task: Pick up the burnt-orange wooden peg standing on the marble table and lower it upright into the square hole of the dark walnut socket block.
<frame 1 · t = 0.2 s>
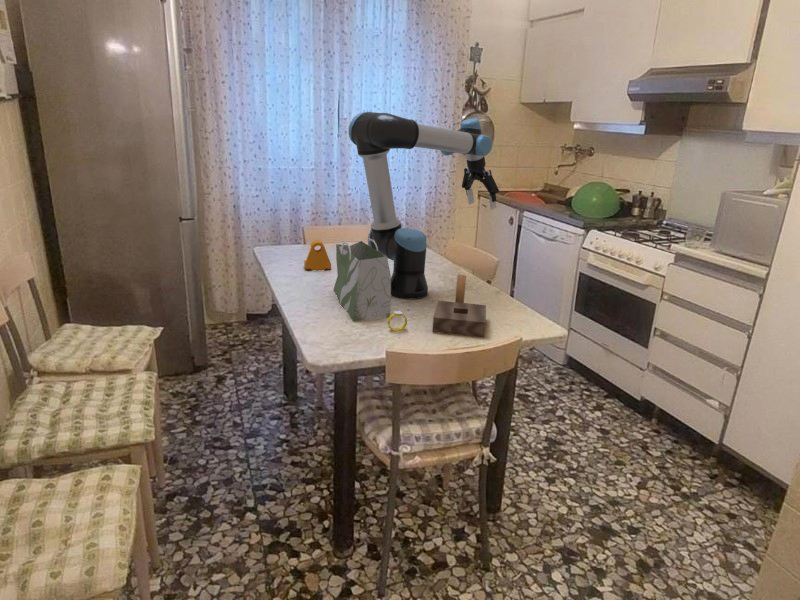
hand: (482, 205, 228), 28 cm above the table, tool tilted 20°, fingers open, 13 cm apart
yellow ring: (396, 330, 165), on the table
peg: (459, 308, 185), on the table
bracket: (317, 268, 225), on the table
socket block: (459, 325, 170), on the table
grocery bag: (358, 304, 186), on the table
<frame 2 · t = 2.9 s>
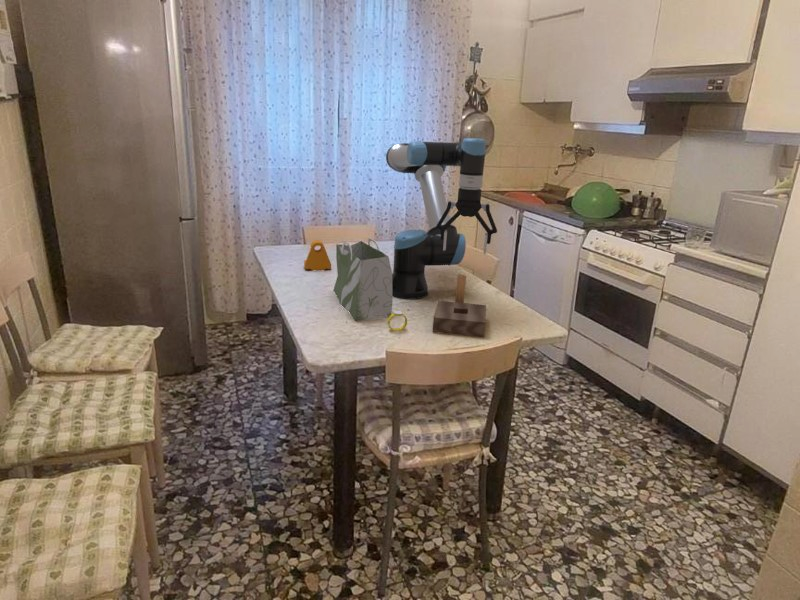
hand: (464, 251, 179), 21 cm above the table, tool pointing down, fingers open, 13 cm apart
nothing on the table moved.
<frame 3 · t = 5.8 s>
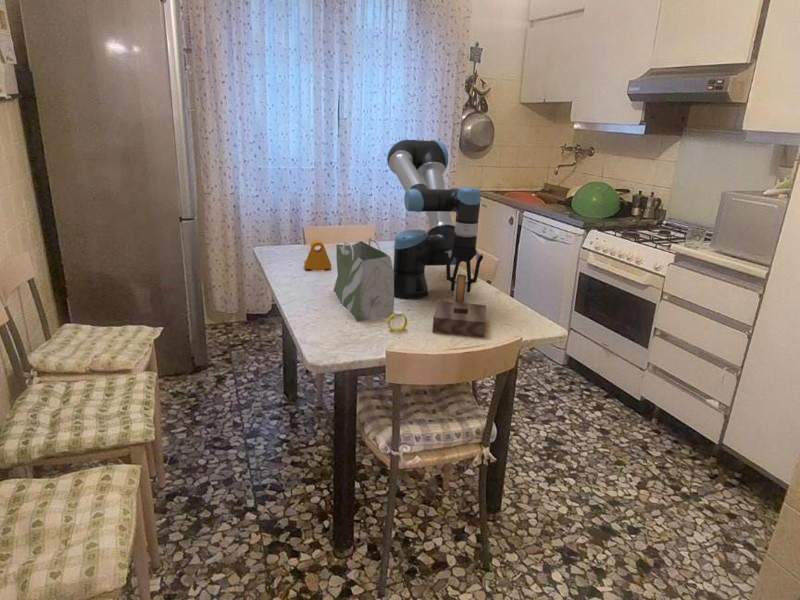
hand: (459, 300, 184), 3 cm above the table, tool pointing down, fingers closed on peg, 3 cm apart
peg: (458, 308, 185), on the table, touching gripper
everything else where it was.
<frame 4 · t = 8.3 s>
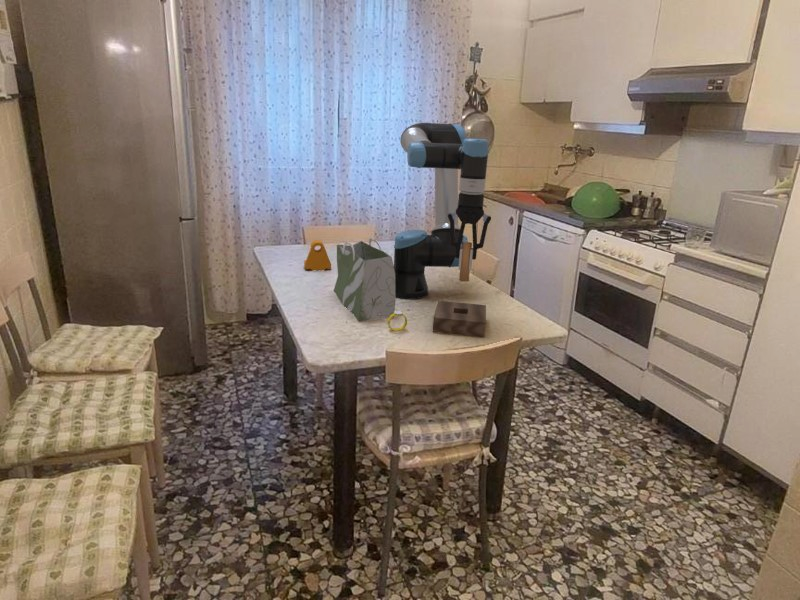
hand: (464, 268, 165), 19 cm above the table, tool pointing down, fingers closed on peg, 2 cm apart
peg: (464, 280, 166), point 15 cm above the table, touching gripper
everything else where it was.
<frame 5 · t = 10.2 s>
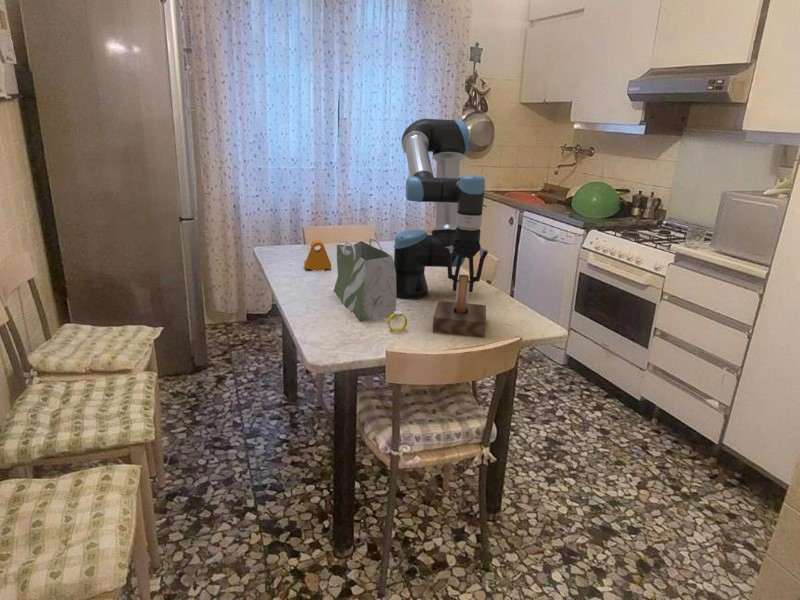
hand: (461, 300, 167), 9 cm above the table, tool pointing down, fingers closed on peg, 2 cm apart
peg: (460, 311, 169), point 5 cm above the table, touching gripper
when the fingers open (7 cm above the table, at t = 11.3 s): peg drops 3 cm, resting in socket block.
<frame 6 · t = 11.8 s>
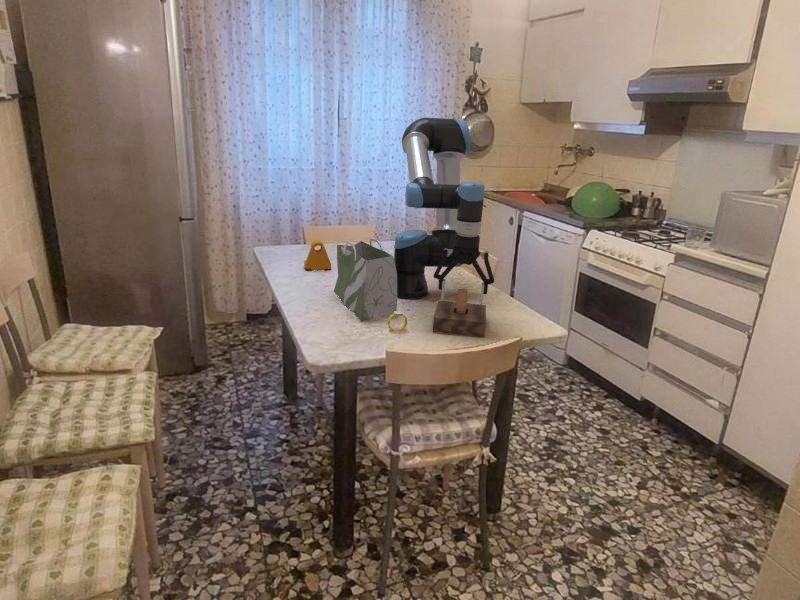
hand: (461, 301, 168), 8 cm above the table, tool pointing down, fingers open, 11 cm apart
peg: (459, 325, 170), resting in socket block
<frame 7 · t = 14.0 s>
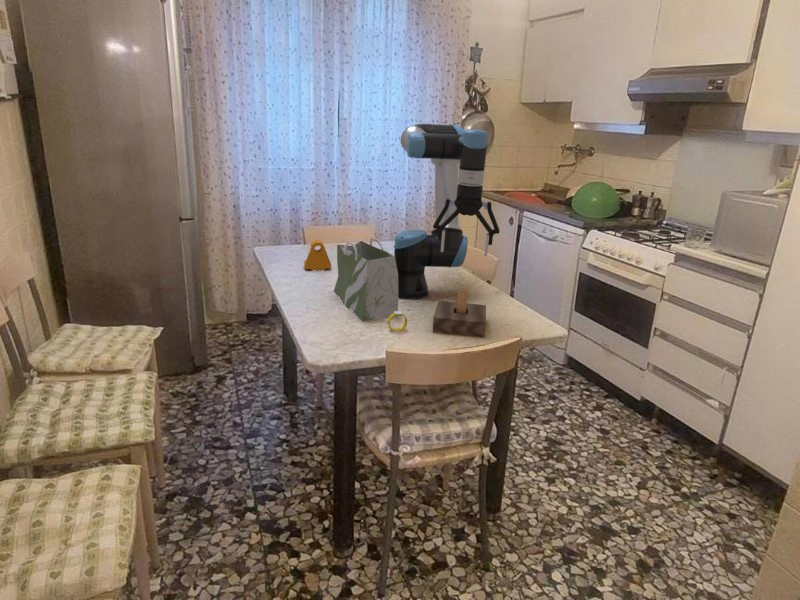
hand: (463, 252, 165), 23 cm above the table, tool pointing down, fingers open, 13 cm apart
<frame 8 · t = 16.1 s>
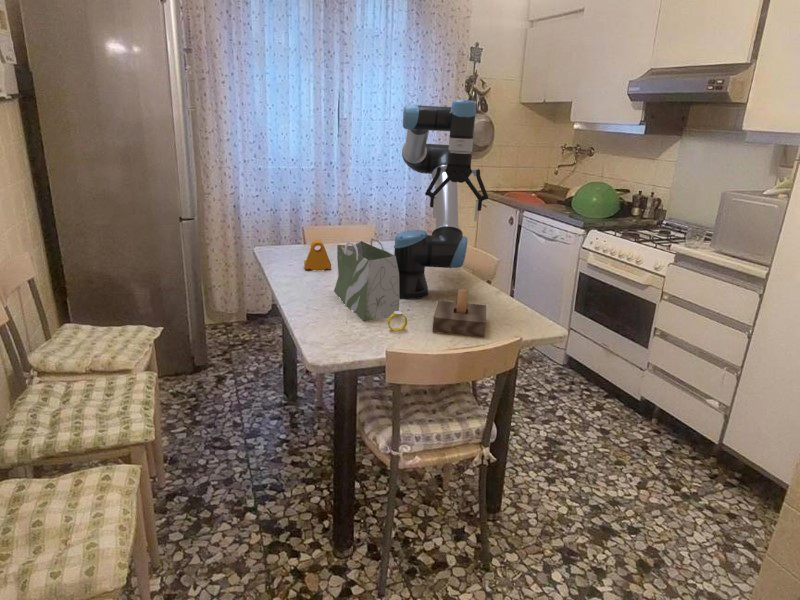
hand: (454, 219, 174), 32 cm above the table, tool pointing down, fingers open, 13 cm apart
at the end: peg 0.1 cm off-centre on the socket block, point 0.0 cm above the socket block's base; peg tilted 0°; the gripper is holding nothing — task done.
